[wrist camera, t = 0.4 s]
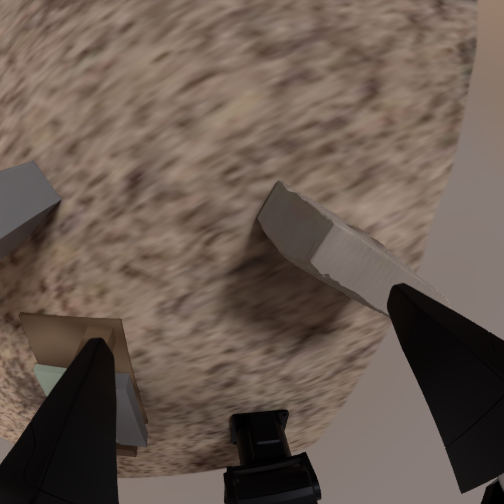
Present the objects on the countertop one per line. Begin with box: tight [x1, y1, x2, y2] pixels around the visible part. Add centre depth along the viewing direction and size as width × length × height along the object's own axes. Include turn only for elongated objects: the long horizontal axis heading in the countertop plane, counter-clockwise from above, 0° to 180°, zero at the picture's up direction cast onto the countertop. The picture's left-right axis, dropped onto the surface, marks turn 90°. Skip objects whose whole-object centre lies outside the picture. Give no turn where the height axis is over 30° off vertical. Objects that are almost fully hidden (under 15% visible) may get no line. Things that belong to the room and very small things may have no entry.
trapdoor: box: [33, 364, 148, 447], centre depth 22 cm, size 10×9×2 cm
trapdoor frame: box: [19, 312, 148, 457], centre depth 23 cm, size 15×11×6 cm
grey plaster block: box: [257, 180, 450, 317], centre depth 19 cm, size 12×4×10 cm, turn 60°
